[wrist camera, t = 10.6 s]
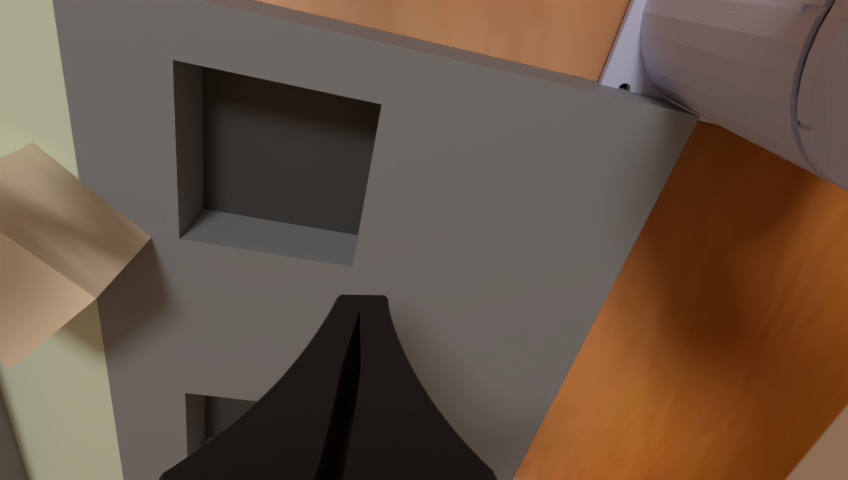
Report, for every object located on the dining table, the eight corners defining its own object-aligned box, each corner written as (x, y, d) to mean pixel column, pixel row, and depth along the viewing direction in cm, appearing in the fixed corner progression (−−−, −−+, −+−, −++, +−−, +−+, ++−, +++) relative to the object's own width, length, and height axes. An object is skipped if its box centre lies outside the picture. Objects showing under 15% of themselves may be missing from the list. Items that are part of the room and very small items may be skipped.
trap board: (661, 96, 20) (724, 129, 16) (482, 480, 33) (493, 548, 29) (-91, -81, 16) (-250, -96, 12) (45, 437, 29) (-10, 510, 25)
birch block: (151, 237, 19) (95, 298, 16) (77, 299, 20) (11, 368, 17) (32, 141, 17) (-63, 188, 13) (-42, 218, 18) (-146, 279, 15)
